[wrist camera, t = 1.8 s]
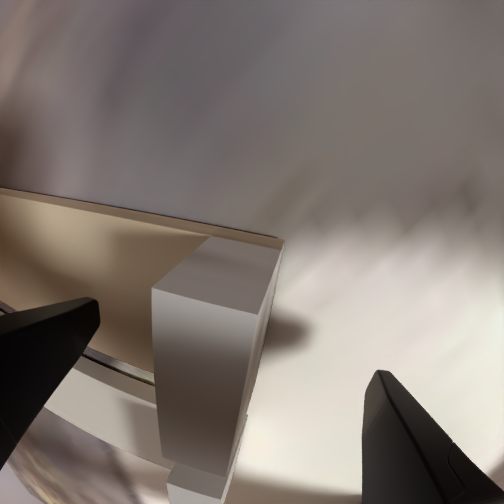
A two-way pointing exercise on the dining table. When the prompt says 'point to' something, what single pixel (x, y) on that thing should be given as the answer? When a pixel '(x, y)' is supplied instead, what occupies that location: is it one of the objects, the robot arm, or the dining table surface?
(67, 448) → the dining table surface
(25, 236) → the birch strip
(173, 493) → the grey strip
